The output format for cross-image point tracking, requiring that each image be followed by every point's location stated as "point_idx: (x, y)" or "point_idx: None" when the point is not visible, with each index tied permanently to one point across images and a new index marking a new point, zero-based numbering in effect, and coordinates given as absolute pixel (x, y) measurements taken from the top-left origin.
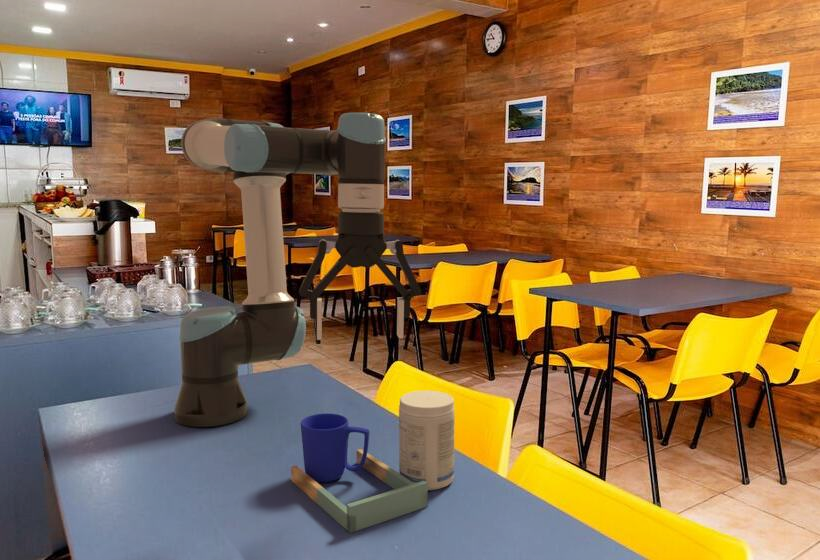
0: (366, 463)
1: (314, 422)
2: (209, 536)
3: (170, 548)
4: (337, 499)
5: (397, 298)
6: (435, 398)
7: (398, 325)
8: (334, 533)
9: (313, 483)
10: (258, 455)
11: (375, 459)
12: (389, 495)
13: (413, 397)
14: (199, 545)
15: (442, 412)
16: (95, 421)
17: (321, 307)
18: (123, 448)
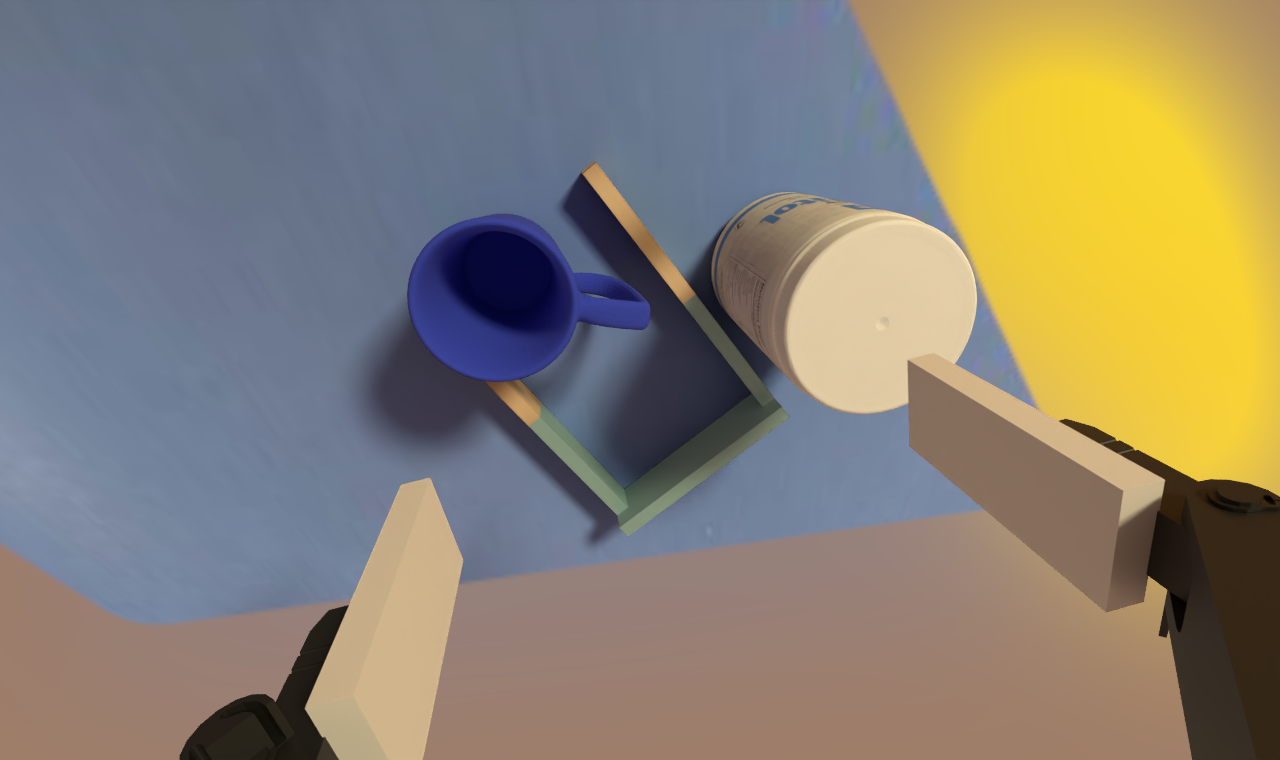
0: (618, 220)
1: (444, 250)
2: (353, 550)
3: (302, 592)
4: (586, 465)
5: (1114, 488)
6: (914, 319)
7: (954, 457)
8: (592, 509)
9: (511, 400)
10: (244, 134)
11: (649, 242)
12: (704, 478)
13: (836, 315)
14: (351, 576)
15: None
16: None
17: (422, 743)
18: None
